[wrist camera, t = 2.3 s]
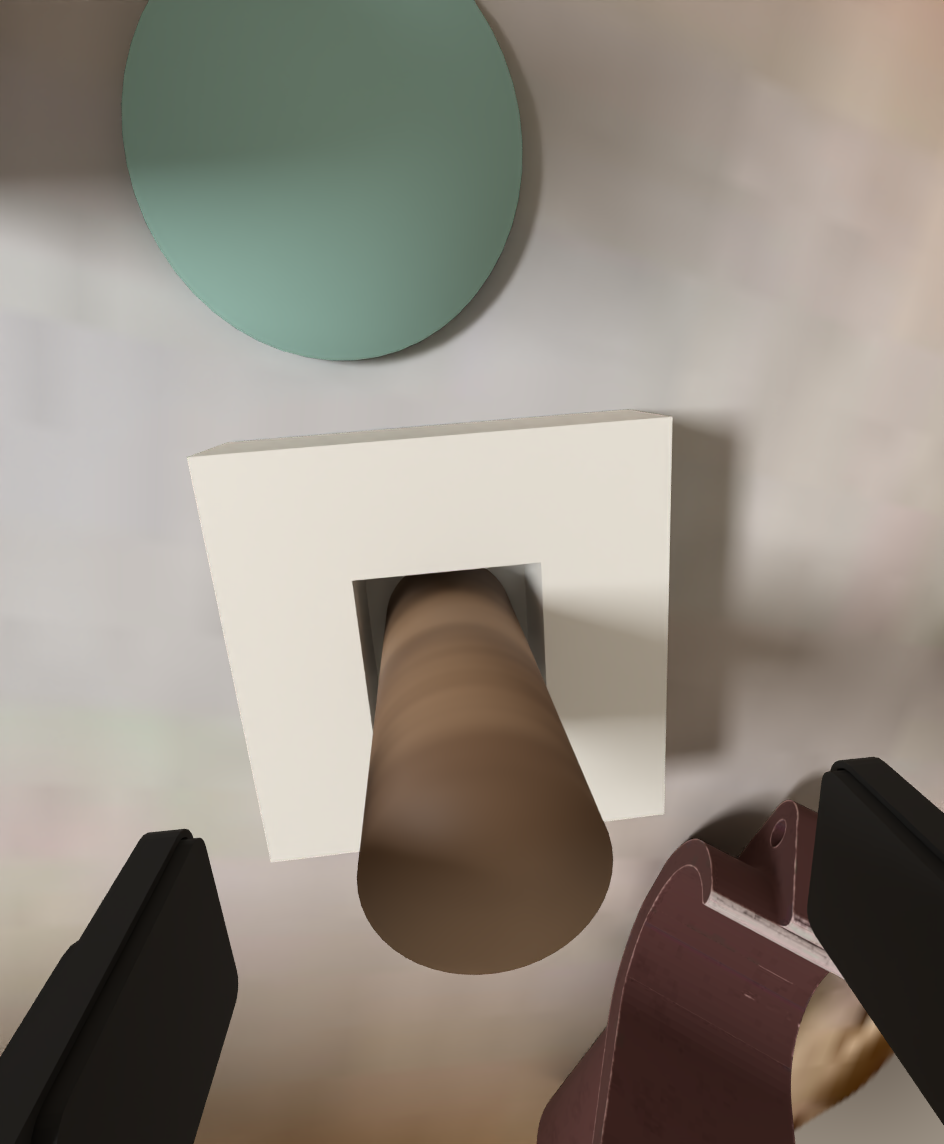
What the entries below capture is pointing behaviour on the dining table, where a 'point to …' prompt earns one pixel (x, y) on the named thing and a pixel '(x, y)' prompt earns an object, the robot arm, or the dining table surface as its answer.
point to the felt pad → (324, 163)
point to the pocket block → (429, 545)
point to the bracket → (705, 1002)
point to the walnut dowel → (473, 789)
